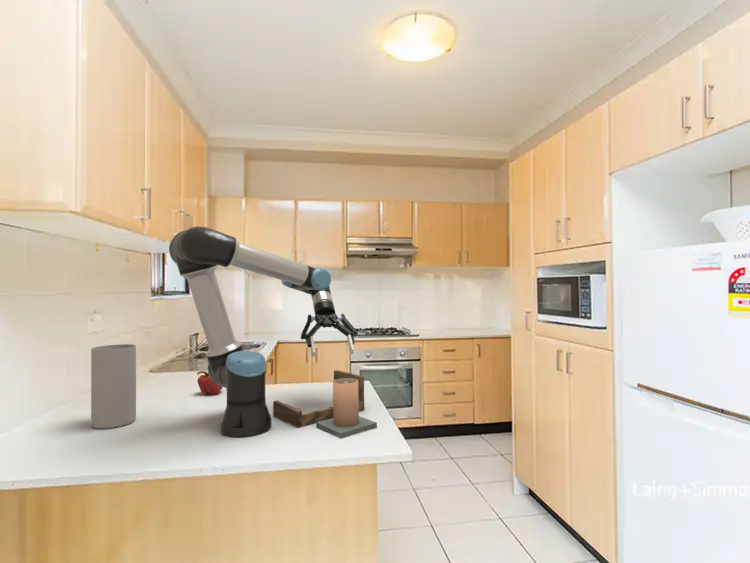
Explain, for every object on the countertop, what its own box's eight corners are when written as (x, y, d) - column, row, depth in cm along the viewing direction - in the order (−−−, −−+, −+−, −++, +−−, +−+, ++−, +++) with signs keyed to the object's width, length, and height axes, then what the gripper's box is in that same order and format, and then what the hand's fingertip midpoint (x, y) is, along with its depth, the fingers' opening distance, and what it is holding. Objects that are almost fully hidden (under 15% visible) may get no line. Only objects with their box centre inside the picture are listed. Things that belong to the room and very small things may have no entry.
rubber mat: (340, 438, 121) (340, 433, 121) (316, 427, 131) (316, 422, 131) (376, 427, 130) (376, 422, 130) (351, 417, 140) (351, 413, 140)
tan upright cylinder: (337, 428, 125) (336, 384, 126) (330, 420, 133) (329, 379, 133) (362, 424, 128) (361, 382, 128) (354, 417, 136) (353, 377, 136)
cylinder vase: (90, 432, 128) (90, 350, 128) (92, 421, 139) (92, 346, 139) (136, 424, 135) (136, 347, 135) (135, 415, 145) (135, 343, 146)
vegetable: (201, 398, 166) (201, 373, 166) (191, 394, 174) (191, 370, 174) (227, 393, 174) (227, 369, 174) (217, 389, 181) (217, 366, 181)
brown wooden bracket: (297, 427, 131) (297, 389, 131) (273, 415, 143) (273, 380, 143) (364, 410, 148) (364, 376, 148) (337, 401, 161) (336, 370, 161)
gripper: (353, 311, 163) (365, 357, 149) (289, 313, 155) (295, 361, 141) (357, 299, 158) (370, 344, 144) (291, 300, 150) (298, 348, 136)
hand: (333, 353), depth 143 cm, fingers open, 13 cm apart
